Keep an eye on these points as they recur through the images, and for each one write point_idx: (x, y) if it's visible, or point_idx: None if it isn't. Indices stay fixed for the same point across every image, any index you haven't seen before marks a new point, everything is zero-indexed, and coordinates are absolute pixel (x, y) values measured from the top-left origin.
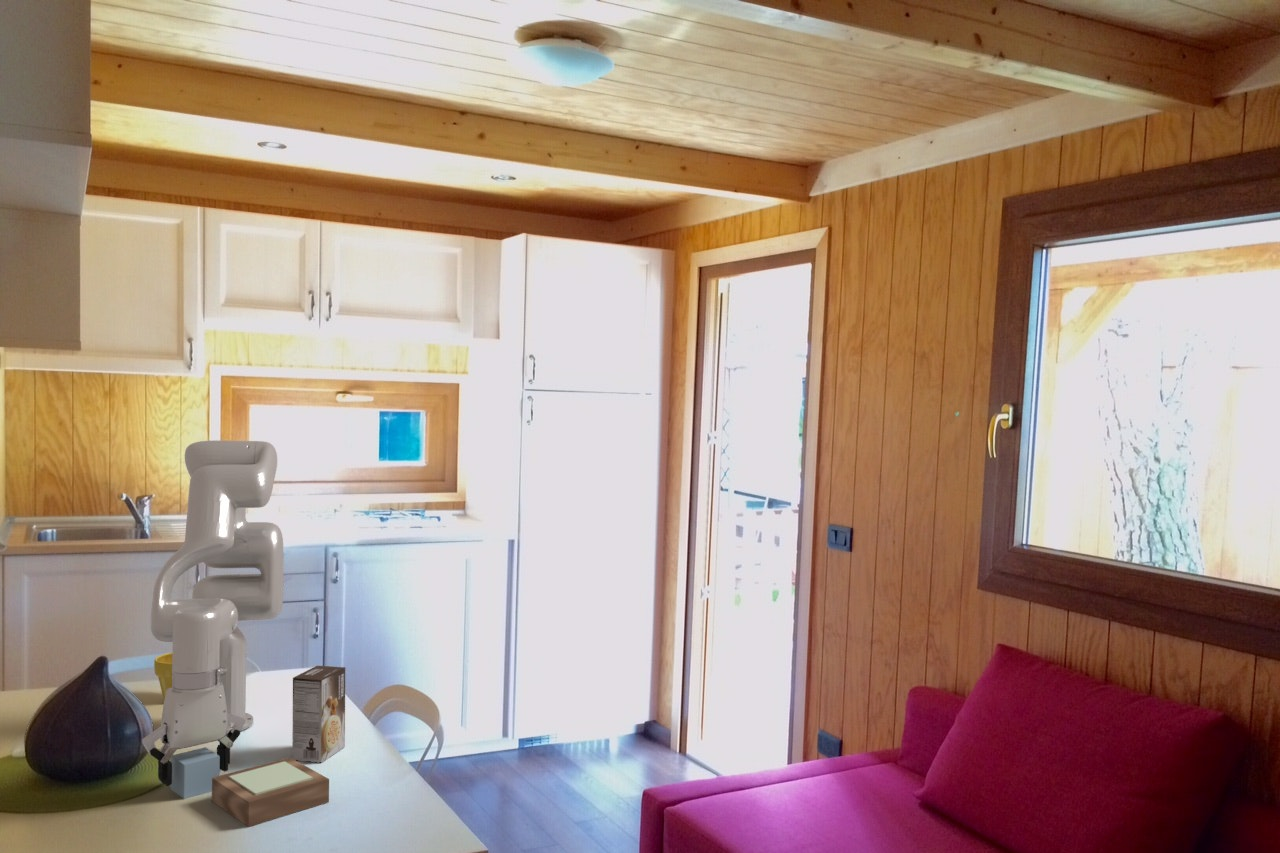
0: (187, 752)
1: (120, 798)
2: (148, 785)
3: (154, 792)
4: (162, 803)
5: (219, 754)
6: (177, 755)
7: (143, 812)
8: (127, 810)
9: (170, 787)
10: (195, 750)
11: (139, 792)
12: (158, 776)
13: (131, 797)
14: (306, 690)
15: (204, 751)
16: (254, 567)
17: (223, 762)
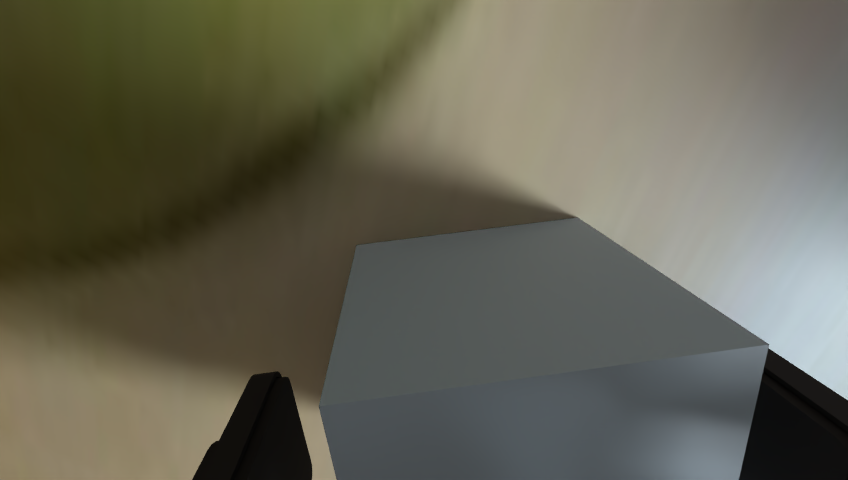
0: (526, 405)
1: (35, 222)
2: (233, 85)
3: (257, 245)
4: None
5: (766, 443)
6: (394, 439)
7: (174, 472)
8: (91, 415)
9: (356, 249)
10: (627, 392)
11: (163, 188)
12: (210, 455)
13: (110, 245)
14: None
15: (682, 461)
16: None
17: None
